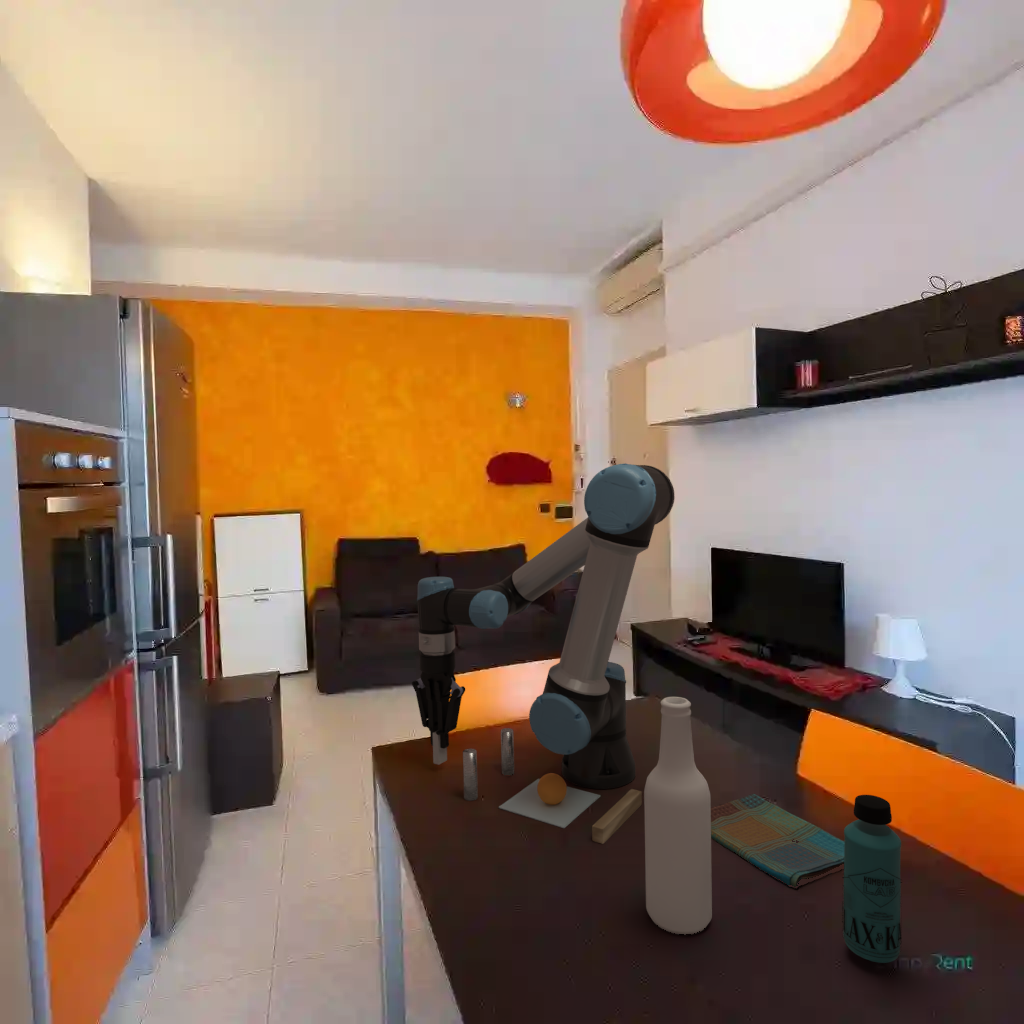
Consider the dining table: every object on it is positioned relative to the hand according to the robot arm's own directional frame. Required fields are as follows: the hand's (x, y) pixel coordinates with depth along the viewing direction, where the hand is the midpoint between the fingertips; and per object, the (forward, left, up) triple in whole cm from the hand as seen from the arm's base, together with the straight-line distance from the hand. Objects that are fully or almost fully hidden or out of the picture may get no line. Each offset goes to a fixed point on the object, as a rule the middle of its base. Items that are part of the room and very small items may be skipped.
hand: (440, 761), depth 140 cm
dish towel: (-65, -8, -3) cm, 66 cm away
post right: (-13, -6, -2) cm, 15 cm away
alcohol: (-59, +19, -2) cm, 62 cm away
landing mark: (-27, 0, -2) cm, 27 cm away
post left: (-13, +6, -2) cm, 15 cm away
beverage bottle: (-82, +14, -2) cm, 83 cm away
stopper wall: (-41, 0, -2) cm, 41 cm away
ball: (-27, 0, +1) cm, 28 cm away
